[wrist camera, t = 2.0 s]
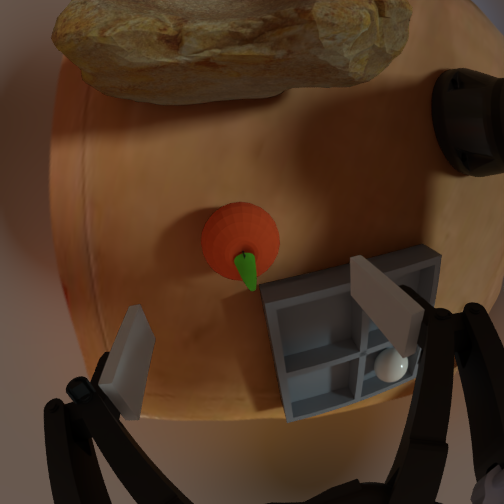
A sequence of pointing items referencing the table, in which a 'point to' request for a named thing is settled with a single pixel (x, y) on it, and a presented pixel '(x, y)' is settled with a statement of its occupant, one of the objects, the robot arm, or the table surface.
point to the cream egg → (390, 365)
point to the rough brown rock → (228, 46)
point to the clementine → (240, 242)
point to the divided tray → (336, 332)
